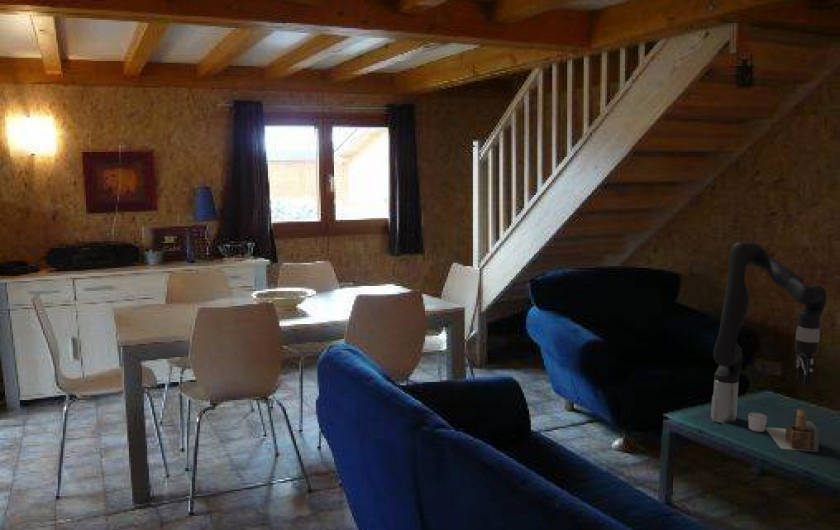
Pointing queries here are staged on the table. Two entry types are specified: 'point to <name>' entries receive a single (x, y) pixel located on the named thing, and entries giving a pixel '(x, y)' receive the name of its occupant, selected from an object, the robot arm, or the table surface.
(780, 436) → the board
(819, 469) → the table surface
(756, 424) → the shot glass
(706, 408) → the table surface
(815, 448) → the wall
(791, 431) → the wooden open box
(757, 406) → the table surface
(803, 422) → the dowel
